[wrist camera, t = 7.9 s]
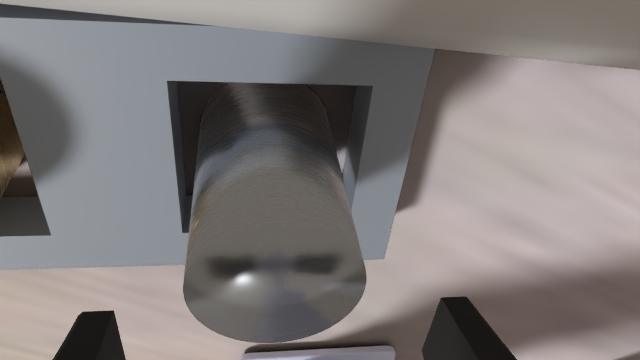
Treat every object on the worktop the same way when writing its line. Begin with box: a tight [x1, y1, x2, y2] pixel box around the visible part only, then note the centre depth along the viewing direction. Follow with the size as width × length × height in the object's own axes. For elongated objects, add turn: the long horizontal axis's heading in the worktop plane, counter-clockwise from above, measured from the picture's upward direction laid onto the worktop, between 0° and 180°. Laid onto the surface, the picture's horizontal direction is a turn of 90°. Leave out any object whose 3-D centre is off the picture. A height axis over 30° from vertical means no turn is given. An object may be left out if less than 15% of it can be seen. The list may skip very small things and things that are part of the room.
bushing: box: [183, 82, 366, 343], centre depth 15 cm, size 4×4×7 cm
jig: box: [0, 4, 435, 270], centre depth 16 cm, size 9×19×2 cm, turn 84°
